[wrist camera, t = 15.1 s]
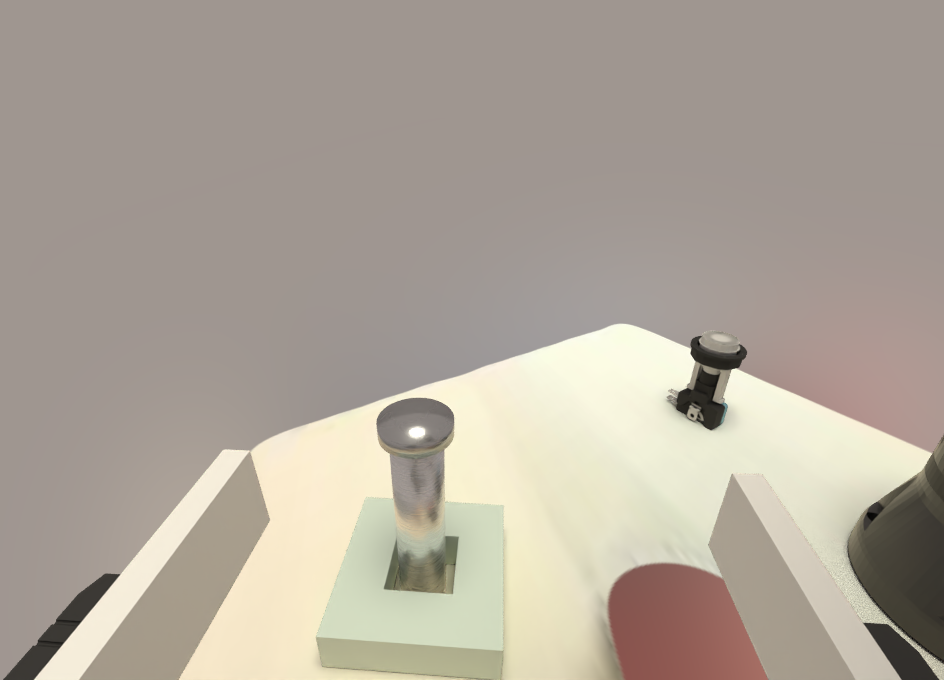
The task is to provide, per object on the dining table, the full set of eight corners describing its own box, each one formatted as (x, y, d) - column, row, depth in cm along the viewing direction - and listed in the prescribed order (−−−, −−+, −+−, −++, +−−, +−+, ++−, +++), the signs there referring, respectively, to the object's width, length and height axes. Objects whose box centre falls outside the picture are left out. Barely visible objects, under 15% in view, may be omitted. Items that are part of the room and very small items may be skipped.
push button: (654, 407, 54) (671, 330, 50) (680, 393, 57) (700, 319, 53) (707, 437, 49) (732, 354, 45) (733, 420, 52) (759, 341, 48)
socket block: (501, 532, 38) (503, 505, 36) (500, 680, 28) (503, 650, 27) (368, 524, 38) (365, 497, 37) (322, 666, 28) (315, 636, 27)
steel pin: (456, 565, 35) (457, 399, 28) (451, 623, 31) (450, 446, 24) (399, 562, 35) (386, 396, 28) (386, 618, 31) (367, 441, 25)
